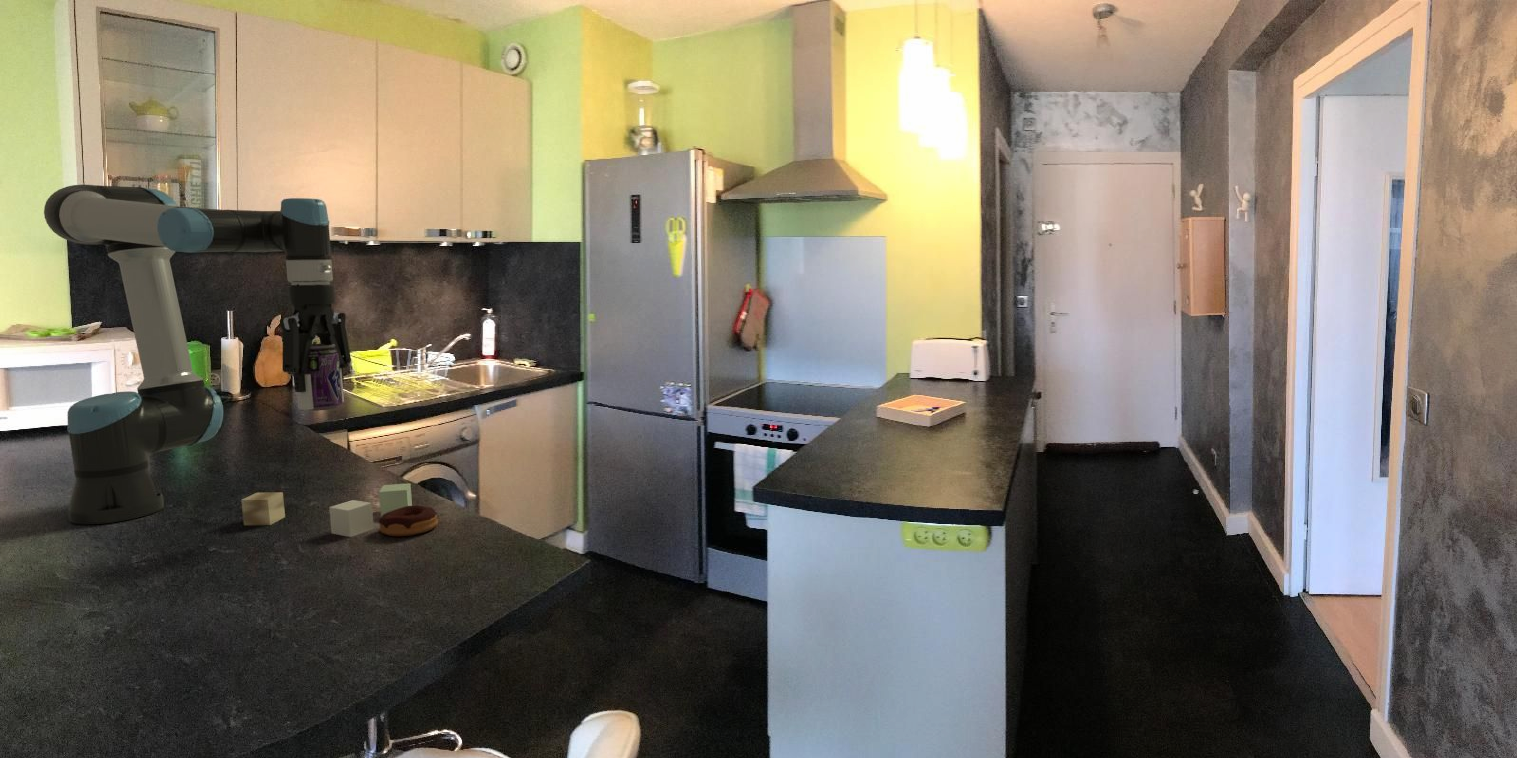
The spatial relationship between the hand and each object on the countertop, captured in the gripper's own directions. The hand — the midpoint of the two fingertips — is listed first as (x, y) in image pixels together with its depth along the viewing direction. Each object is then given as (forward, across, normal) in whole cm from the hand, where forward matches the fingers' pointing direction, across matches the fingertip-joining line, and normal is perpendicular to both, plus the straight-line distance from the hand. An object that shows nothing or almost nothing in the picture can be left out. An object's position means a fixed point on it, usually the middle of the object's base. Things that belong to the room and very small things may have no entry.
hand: (321, 405), depth 162 cm
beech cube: (+22, -5, +11) cm, 25 cm away
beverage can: (+1, 0, 0) cm, 1 cm away
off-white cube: (+22, -6, -10) cm, 25 cm away
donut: (+22, -3, -20) cm, 30 cm away
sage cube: (+22, +6, -10) cm, 25 cm away
